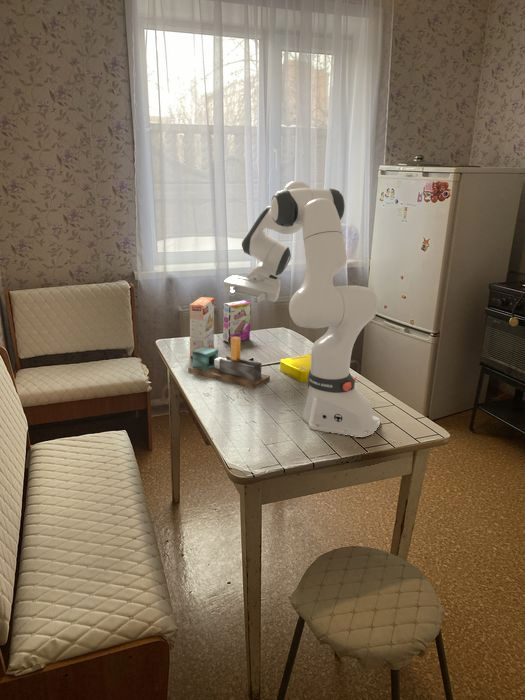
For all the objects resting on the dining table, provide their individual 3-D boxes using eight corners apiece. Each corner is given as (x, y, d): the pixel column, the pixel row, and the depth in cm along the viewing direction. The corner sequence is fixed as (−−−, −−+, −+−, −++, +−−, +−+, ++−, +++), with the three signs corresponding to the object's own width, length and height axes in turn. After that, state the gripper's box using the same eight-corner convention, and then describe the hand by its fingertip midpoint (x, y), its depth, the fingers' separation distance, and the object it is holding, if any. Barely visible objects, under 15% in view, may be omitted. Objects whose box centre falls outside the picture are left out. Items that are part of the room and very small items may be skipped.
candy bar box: (229, 344, 218) (229, 305, 213) (222, 340, 222) (222, 303, 217) (250, 339, 225) (251, 302, 220) (243, 336, 229) (244, 299, 223)
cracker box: (204, 358, 200) (203, 305, 194) (189, 357, 201) (188, 304, 195) (215, 347, 213) (214, 297, 207) (200, 346, 214) (200, 296, 208)
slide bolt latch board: (269, 379, 181) (270, 359, 179) (254, 389, 173) (254, 367, 171) (205, 363, 195) (205, 344, 192) (188, 371, 187) (187, 351, 184)
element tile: (310, 363, 199) (311, 351, 197) (335, 376, 187) (336, 363, 185) (277, 370, 191) (278, 358, 190) (301, 384, 179) (302, 371, 178)
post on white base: (247, 371, 181) (247, 338, 177) (242, 374, 179) (243, 341, 175) (219, 365, 187) (219, 332, 183) (214, 367, 184) (214, 334, 181)
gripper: (231, 268, 192) (216, 283, 181) (284, 279, 187) (271, 295, 176) (231, 283, 195) (216, 299, 184) (283, 295, 190) (270, 312, 179)
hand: (243, 297), depth 180 cm, fingers open, 8 cm apart
